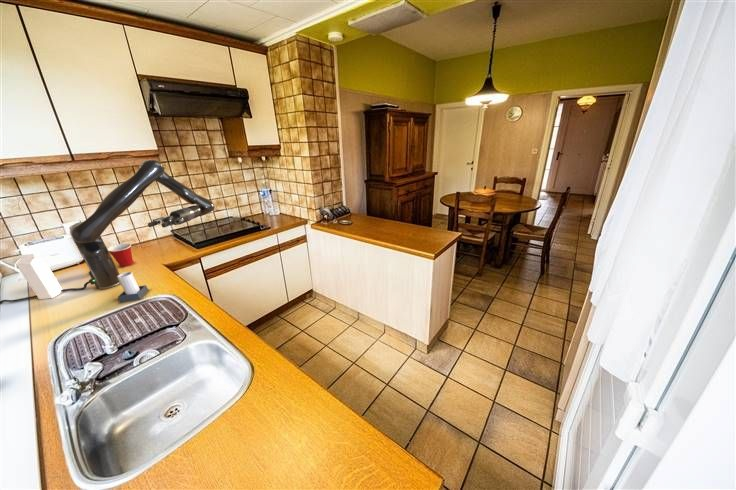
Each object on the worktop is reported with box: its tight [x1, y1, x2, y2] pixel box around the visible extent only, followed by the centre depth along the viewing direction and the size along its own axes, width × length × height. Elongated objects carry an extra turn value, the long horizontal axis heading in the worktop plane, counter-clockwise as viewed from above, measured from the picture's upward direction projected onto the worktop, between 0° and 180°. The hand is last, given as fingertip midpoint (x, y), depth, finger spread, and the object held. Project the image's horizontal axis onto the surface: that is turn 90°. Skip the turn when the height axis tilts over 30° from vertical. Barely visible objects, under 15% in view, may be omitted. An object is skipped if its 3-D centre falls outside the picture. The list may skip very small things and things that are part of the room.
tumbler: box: [117, 271, 140, 295], centre depth 122 cm, size 5×5×11 cm
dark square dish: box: [117, 284, 149, 303], centre depth 124 cm, size 8×8×3 cm
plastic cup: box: [107, 242, 134, 268], centre depth 155 cm, size 11×11×12 cm
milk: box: [16, 253, 63, 300], centre depth 125 cm, size 6×6×22 cm
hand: (155, 225), depth 132 cm, fingers open, 8 cm apart
